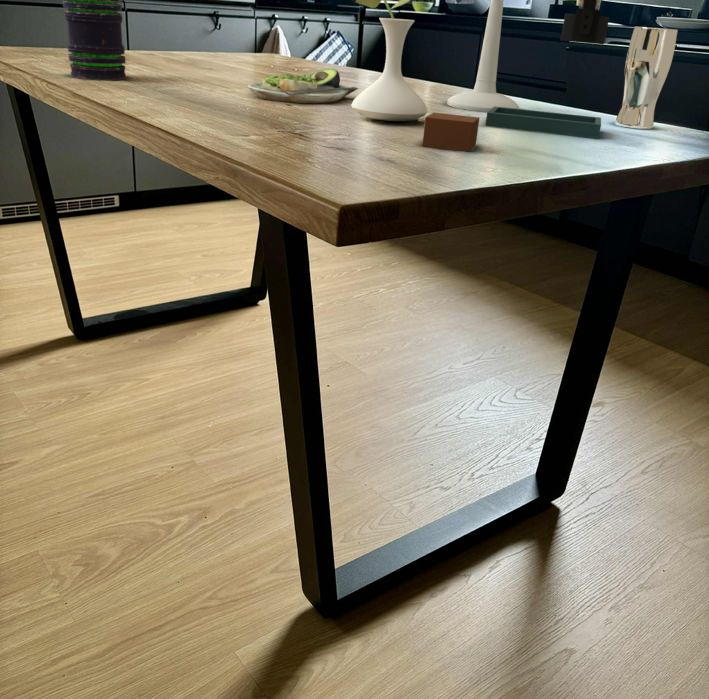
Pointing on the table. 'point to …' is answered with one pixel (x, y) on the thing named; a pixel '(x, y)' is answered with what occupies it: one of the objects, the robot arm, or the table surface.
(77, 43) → the storage jar
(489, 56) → the candlestick
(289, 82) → the salad plate
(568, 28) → the pad
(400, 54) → the flower in vase
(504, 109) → the frame
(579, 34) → the robot arm
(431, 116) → the pad
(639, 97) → the beer glass
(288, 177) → the table surface
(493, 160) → the table surface
